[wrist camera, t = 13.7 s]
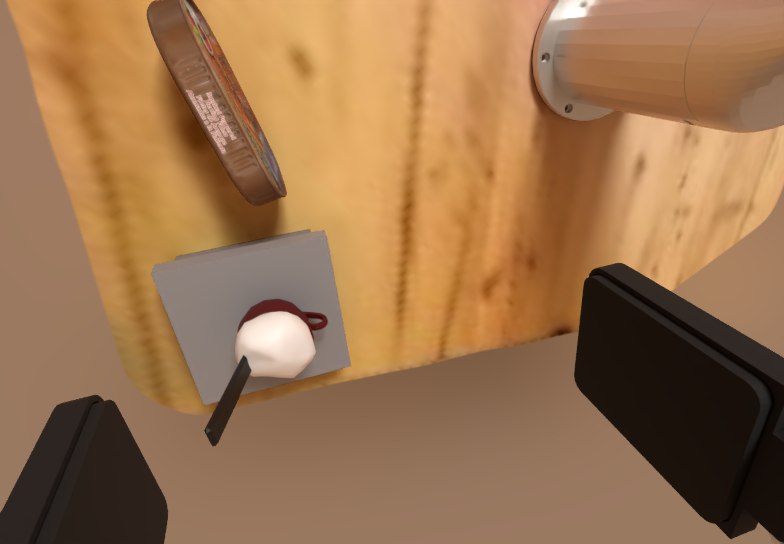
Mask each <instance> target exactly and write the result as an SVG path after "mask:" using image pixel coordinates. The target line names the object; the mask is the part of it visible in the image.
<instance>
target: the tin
mask: <svg viewBox="0 0 784 544" xmlns="http://www.w3.org/2000/svg"><path fill="white" fill-rule="evenodd" d="M147 19H148V24H149V27H150V30H151V33H152V36H153V38H154V41H155V43H156V45H157V47H158V50H159V52H160V54H161V56H162V58H163V60H164V62H165V64H166V66H167V68H168V69H169V71H170V73H171V75H172V77H173V79H174V80H175V82H176V84H177V86H178V87H179V89H180V91H181V93H182V95H183V96H184V98H185V100H186V102H187V104H188V105H189V107H190V109H191V111H192V112H193V114H194V116H195V118H196V120H197V121H198V123H199V125H200V126H201V128H202V130H203V132H204V133H205V135H206V137H207V139H208V140H209V142H210V144H211V146H212V147H213V149H214V151H215V152H216V154H217V156H218V158H219V159H220V161H221V163H222V164H223V166H224V168H225V170H226V171H227V173H228V175H229V176H230V178H231V180H232V181H233V183H234V184H235V186H236V187H237V189H238V190H239V191H240V193H241V194H242V195H243V196H244V197H245V199H246V200H247V201H248V202H250V203H251V204H252V205H254V206H260V205H263V204H266V203H268V202H271V201H273V200H275V199H278V198H280V197H286V195H287V192H286V187H285V184H284V181H283V178H282V175H281V172H280V169H279V166H278V164H277V161H276V159H275V157H274V154H273V152H272V150H271V148H270V146H269V144H268V142H267V139H266V137H265V135H264V133H263V131H262V129H261V127H260V125H259V123H258V121H257V119H256V117H255V115H254V113H253V111H252V109H251V107H250V105H249V103H248V101H247V99H246V97H245V95H244V93H243V91H242V89H241V87H240V85H239V83H238V81H237V79H236V77H235V75H234V73H233V71H232V69H231V67H230V65H229V63H228V61H227V59H226V57H225V55H224V53H223V51H222V49H221V47H220V45H219V43H218V42H217V40H216V38H215V36H214V34H213V32H212V31H211V29H210V27H209V25H208V23H207V22H206V20H205V18H204V17H203V15H202V13H201V12H200V10H199V9H198V7H197V6H196V4H195V3H194V1H193V0H155V1H153V2H152V3H151V4H150V5H149V7H148V9H147Z"/></svg>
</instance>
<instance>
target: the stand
mask: <svg viewBox="0 0 784 544" xmlns="http://www.w3.org/2000/svg"><path fill="white" fill-rule="evenodd" d="M151 275H152V277H153V280H154V282H155V285H156V287H157V289H158V292H159V294H160V297H161V299H162V302H163V304H164V307H165V309H166V312H167V314H168V317H169V319H170V322H171V324H172V327H173V329H174V332H175V334H176V337H177V339H178V342H179V344H180V347H181V349H182V352H183V354H184V357H185V359H186V362H187V364H188V367H189V369H190V372H191V374H192V377H193V379H194V382H195V384H196V387H197V389H198V392H199V394H200V397H201V399H202V402H203V404H204V405H208V404H211V403H215V402H219V401H220V399H221V397H222V395H223V393H224V391H225V389H226V387H227V385H228V383H229V381H230V379H231V377H232V375H233V373H234V371H235V370H236V368H237V366H238V363H237V361H236V358H235V344H236V337H237V332H238V326H239V324H240V322H241V320H242V318H243V317H244V316H245V314H246V313H247V312H248V310H249V309H250V308H251V307H252V306H254V305H256V304H258V303H260V302H261V301H263V300H270V299H282V300H285V301H289V302H292V303H293V304H294V305H296V306H297V307H298V308H299V309H300V310H301V311H302V312H316V313H321V314H324V315H325V316H326V317H327V319H328V325H327V326H326V327H325V328H323V329H321V330H316V331H312V332H313V335H314V341H313V342H314V345H315V350H316V353H315V355H314V357H313V359H312V361H311V362H310V363H309V364H308V365H307V366H306V367H305V368H304V369H303V370H302V371H301V372H300V373H299V374H298V375H297V376H295V377H294V378H278V377H268V376H258V377H253V376H251V375H249V377H248V379H247V382H246V384H245V386H244V388H243V390H242V392H241V394H240V396H241V395H245V394H249V393H252V392H256V391H260V390H264V389H267V388H271V387H275V386H279V385H282V384H286V383H290V382H293V381H297V380H301V379H305V378H308V377H312V376H316V375H320V374H323V373H327V372H331V371H334V370H338V369H342V368H346V367H349V366H351V363H350V358H349V352H348V347H347V342H346V336H345V331H344V326H343V320H342V315H341V310H340V304H339V299H338V294H337V288H336V283H335V278H334V272H333V267H332V262H331V257H330V251H329V246H328V241H327V236H326V234H325V231H324V230H321V231H316V232H312V233H311V231H310V229H308V230H303V231H298V232H293V233H288V234H283V235H279V236H274V237H269V238H264V239H259V240H254V241H249V242H244V243H239V244H235V245H230V246H225V247H220V248H215V249H210V250H205V251H200V252H195V253H191V254H186V255H181V256H176V259H175V261H171V262H166V263H161V264H156V265H154V267H153V270H152V272H151ZM308 321H309V323H313V324H316V323H320V322H321V321H322V320H320V319H311V318H308Z"/></svg>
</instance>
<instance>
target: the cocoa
mask: <svg viewBox="0 0 784 544" xmlns="http://www.w3.org/2000/svg"><path fill="white" fill-rule="evenodd" d="M308 318H311V319H320V320H322V321H321V322H320V323H316V324H313V323H309V321H308ZM327 325H328V319H327V317H326V316H325V315H324V314H321V313H316V312H302V311H301V310H300V309H299V308H298V307H297V306H296V305H294V304H293V303H292V302H289V301H285V300H282V299H270V300H263V301H261V302H260V303H258V304H256V305H254V306H252V307H251V308H250V309H249V310H248V312H247V313H246V314H245V316H244V317H243V318H242V320H241V322H240V324H239V326H238V332H237V337H236V344H235V358H236V361H237V363H238V366H237V368H236V370H235V371H234V373H233V375H232V377H231V379H230V381H229V383H228V385H227V387H226V389H225V391H224V393H223V395H222V397H221V399H220V401H219V403H218V405H217V407H216V409H215V411H214V413H213V415H212V417H211V419H210V421H209V422H208V424H207V426H206V428H205V430H204V431H205V433H206V435H207V437H208V439H209V441H210V443H211V444H212V446H216V445H217V443H218V442H219V440H220V437H221V435H222V433H223V431H224V429H225V427H226V424H227V422H228V420H229V418H230V416H231V414H232V412H233V409H234V407H235V405H236V403H237V401H238V399H239V397H240V394H241V392H242V390H243V388H244V386H245V384H246V382H247V379H248V377H249V375H251V376H253V377H258V376H268V377H278V378H294V377H295V376H297V375H298V374H299V373H300V372H301V371H302V370H303V369H304V368H305V367H306V366H307V365H308V364H309V363H310V362H311V361H312V359H313V357H314V355H315V353H316V350H315V345H314V342H313V341H314V335H313V332H312V331H316V330H321V329H323V328H325V327H326V326H327Z"/></svg>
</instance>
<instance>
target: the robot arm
mask: <svg viewBox="0 0 784 544" xmlns="http://www.w3.org/2000/svg"><path fill="white" fill-rule="evenodd" d="M541 58H542V59H541ZM532 63H533V75H534V79H535V83H536V87H537V90H538V92H539V94H540V96H541V98H542V100H543V101H544V102H545V103H546V105H547V106H548V107H549V108H550V109H551V110H552V111H554V112H555V113H556V114H558V115H560V116H562V117H565V118H568V119H572V120H576V121H589V120H595V119H598V118H601V117H603V116H606V115H608V114H610V113H611V112H613V111H614V110H617V111H622V112H627V113H632V114H638V115H643V116H648V117H653V118H659V119H664V120H669V121H674V122H680V123H685V124H690V125H695V126H701V127H706V128H711V129H716V130H722V131H728V132H737V133H749V132H759V131H764V130H769V129H773V128H776V127H779V126H782V125H784V0H553V2H552V3H551V4H550V6H549V7H548V9H547V11H546V13H545V15H544V16H543V18H542V21H541V23H540V26H539V28H538V31H537V34H536V39H535V43H534V48H533V61H532ZM574 377H575V382H576V384H577V386H578V388H579V390H580V391H581V392H582V393H583V394H584V395H585V396H586V397H587V398H588V399H589V400H590V401H591V403H592V404H593V405H594V406H595V407H596V408H597V409H598V410H599V411H600V412H601V413H602V414H603V415H604V416H605V417H606V418H607V419H608V420H609V421H610V422H611V423H612V424H613V425H614V426H615V428H617V430H618V431H619V432H620V433H621V434H622V435H623V436H624V437H625V438H626V439H627V440H628V441H629V442H630V443H631V444H632V445H633V446H634V447H635V448H636V449H637V450H638V452H639V453H640V454H642V456H643V457H645V459H646V460H647V461H648V462H649V463H650V464H651V465H652V466H653V467H654V468H655V469H656V470H657V471H658V472H659V473H660V474H661V475H662V476H663V478H664V479H665V480H666V481H667V482H668V483H669V484H670V485H671V486H672V487H673V488H674V489H675V490H676V491H677V492H678V493H679V494H680V495H681V496H682V497H683V498H684V499H685V500H686V501H687V503H688V504H689V505H690V506H691V507H692V508H693V509H694V510H695V511H696V512H697V513H698V514H699V515H700V516H701V517H702V518H704V519H705V520H706V521H708V522H710V523H715V524H716V525H717V526H718V527H719V528H720V529H721V530H722V531H723V532H724V533H725V534H726V535H727V536H728V537H729V538H730V539H732V538H734V537H737V536H739V535H742V534H744V533H747V532H749V531H752V530H754V529H755V528H756V526H757V524H758V522H759V523H760V524H761V525H762V526H763V527H764V528H765V529H766V530H767V531H768V532H769V533H770V537H771V541H772V544H784V358H783V357H781V356H780V355H778V354H776V353H775V352H773V351H771V350H770V349H768V348H766V347H764V346H763V345H761V344H759V343H758V342H756V341H754V340H752V339H751V338H749V337H747V336H746V335H744V334H742V333H741V332H739V331H737V330H736V329H734V328H732V327H730V326H729V325H727V324H725V323H724V322H722V321H720V320H719V319H717V318H715V317H713V316H712V315H710V314H708V313H706V312H705V311H703V310H702V309H700V308H698V307H696V306H695V305H693V304H691V303H690V302H688V301H686V300H685V299H683V298H681V297H679V296H678V295H676V294H674V293H673V292H671V291H669V290H668V289H666V288H664V287H663V286H661V285H659V284H657V283H656V282H654V281H652V280H651V279H649V278H647V277H646V276H644V275H642V274H640V273H639V272H637V271H635V270H634V269H632V268H630V267H629V266H627V265H625V264H622V263H615V264H611V265H607V266H603V267H599V268H595V269H594V270H592V271H591V273H590V275H589V277H588V278H587V279H586V280H585V282H584V287H583V296H582V306H581V315H580V325H579V335H578V344H577V353H576V363H575V372H574ZM167 520H168V509H167V503H166V500H165V497H164V495H163V493H162V491H161V489H160V488H159V486H158V484H157V482H156V480H155V478H154V476H153V474H152V472H151V470H150V469H149V466H148V465H147V463H146V461H145V459H144V457H143V455H142V453H141V451H140V449H139V447H138V446H137V443H136V442H135V440H134V438H133V436H132V434H131V432H130V430H129V428H128V426H127V424H126V422H125V421H124V419H123V417H122V415H121V413H120V411H119V409H118V407H117V405H116V404H115V402H114V401H112V400H107V401H103V399H102V398H101V397H100V396H98V395H92V396H89V397H84V398H80V399H76V400H73V401H69V402H65V403H61V404H59V405H57V406H56V407H55V408H54V410H53V412H52V414H51V416H50V418H49V419H48V421H47V423H46V426H45V427H44V429H43V431H42V433H41V435H40V437H39V439H38V441H37V443H36V445H35V447H34V449H33V451H32V453H31V455H30V457H29V459H28V461H27V463H26V464H25V467H24V468H23V470H22V472H21V474H20V476H19V478H18V480H17V482H16V484H15V486H14V488H13V490H12V492H11V494H10V496H9V498H8V500H7V502H6V504H5V506H4V508H3V510H2V511H1V513H0V544H164V539H165V533H166V527H167Z"/></svg>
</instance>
